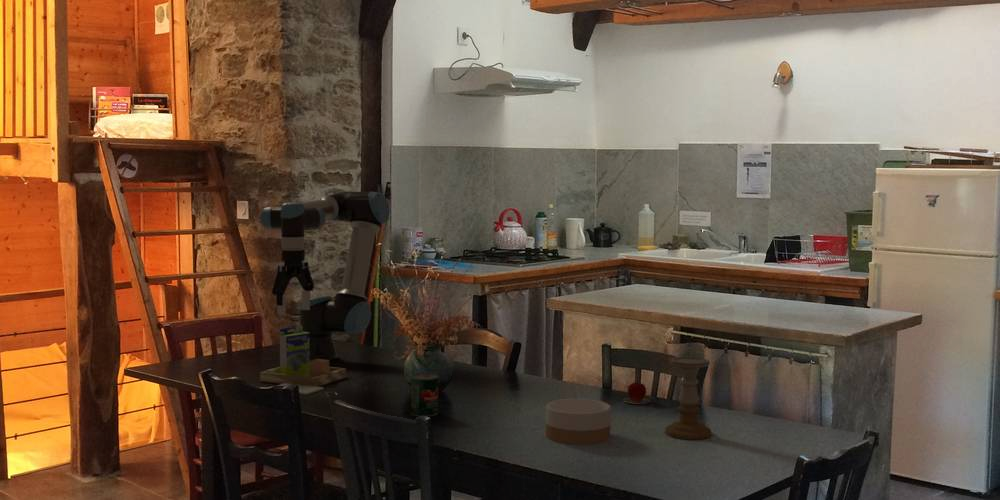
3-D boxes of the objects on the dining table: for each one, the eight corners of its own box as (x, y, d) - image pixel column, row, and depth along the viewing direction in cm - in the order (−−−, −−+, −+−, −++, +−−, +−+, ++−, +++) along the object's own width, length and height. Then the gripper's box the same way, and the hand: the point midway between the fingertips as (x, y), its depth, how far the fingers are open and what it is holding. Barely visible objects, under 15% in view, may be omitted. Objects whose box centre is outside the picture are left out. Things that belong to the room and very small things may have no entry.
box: (286, 381, 342) (286, 330, 341) (278, 380, 344) (278, 328, 343) (311, 376, 350) (310, 326, 349) (302, 375, 353) (302, 325, 351)
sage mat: (285, 384, 337) (285, 383, 337) (323, 389, 330) (323, 387, 330) (268, 390, 329) (268, 388, 329) (307, 394, 322) (306, 392, 322)
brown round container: (563, 448, 263) (564, 416, 263) (535, 432, 279) (535, 401, 278) (622, 441, 270) (622, 409, 270) (590, 425, 286) (591, 396, 285)
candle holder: (719, 438, 273) (721, 363, 271) (677, 441, 270) (679, 365, 268) (698, 426, 285) (699, 354, 283) (657, 429, 281) (658, 357, 280)
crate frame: (292, 371, 359) (292, 363, 358) (346, 377, 349) (346, 368, 349) (260, 381, 342) (260, 372, 342) (315, 387, 333) (314, 378, 333)
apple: (630, 398, 320) (631, 377, 319) (654, 401, 315) (654, 380, 315) (618, 403, 313) (618, 381, 313) (641, 406, 309) (642, 385, 308)
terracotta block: (316, 379, 346) (316, 358, 345) (329, 380, 344) (329, 360, 343) (309, 381, 342) (309, 360, 342) (322, 382, 340) (322, 362, 340)
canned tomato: (431, 417, 294) (431, 379, 293) (406, 415, 297) (406, 377, 296) (442, 411, 301) (442, 374, 300) (418, 409, 304) (418, 372, 303)
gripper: (305, 246, 356) (306, 306, 358) (260, 251, 334) (261, 316, 336) (323, 247, 353) (324, 308, 355) (279, 252, 331) (280, 318, 333)
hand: (293, 312), depth 345 cm, fingers open, 13 cm apart
